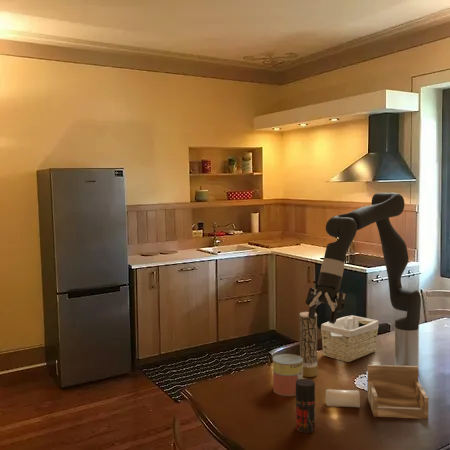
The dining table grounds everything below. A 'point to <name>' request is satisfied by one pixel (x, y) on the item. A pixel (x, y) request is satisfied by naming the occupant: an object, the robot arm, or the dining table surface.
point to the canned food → (286, 373)
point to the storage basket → (349, 338)
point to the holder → (396, 392)
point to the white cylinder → (343, 398)
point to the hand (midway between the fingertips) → (321, 320)
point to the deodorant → (305, 405)
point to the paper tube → (308, 344)
